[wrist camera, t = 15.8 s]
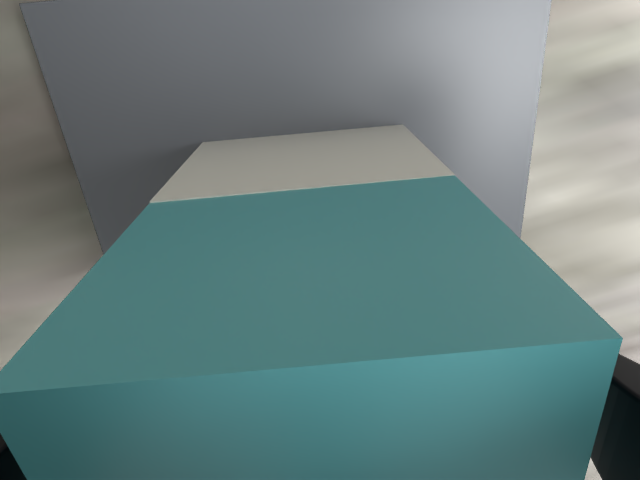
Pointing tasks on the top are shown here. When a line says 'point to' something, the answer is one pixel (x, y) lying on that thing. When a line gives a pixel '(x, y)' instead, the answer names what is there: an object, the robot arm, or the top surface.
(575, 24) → the top surface
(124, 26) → the baseplate
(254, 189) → the cream brick
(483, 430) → the teal brick
